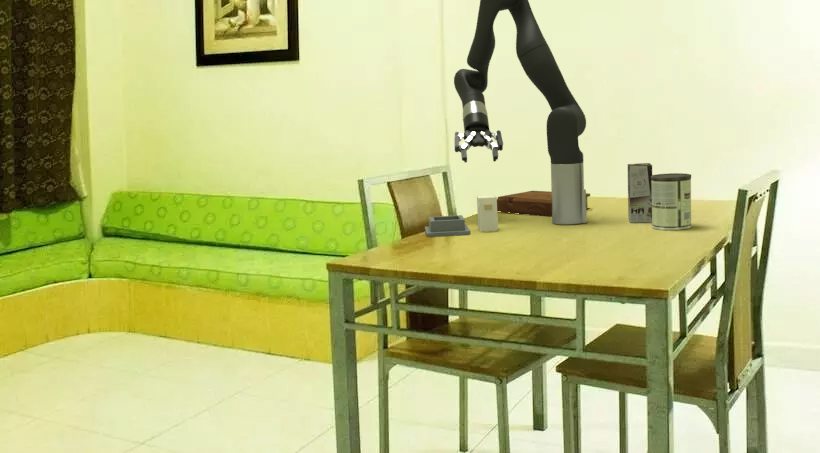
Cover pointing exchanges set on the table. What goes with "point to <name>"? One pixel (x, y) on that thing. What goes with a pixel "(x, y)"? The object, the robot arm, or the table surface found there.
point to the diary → (528, 203)
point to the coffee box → (639, 192)
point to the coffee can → (671, 201)
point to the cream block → (487, 213)
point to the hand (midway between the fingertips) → (480, 160)
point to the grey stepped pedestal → (447, 226)
